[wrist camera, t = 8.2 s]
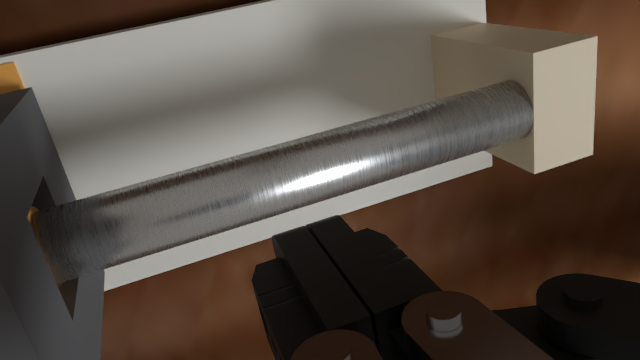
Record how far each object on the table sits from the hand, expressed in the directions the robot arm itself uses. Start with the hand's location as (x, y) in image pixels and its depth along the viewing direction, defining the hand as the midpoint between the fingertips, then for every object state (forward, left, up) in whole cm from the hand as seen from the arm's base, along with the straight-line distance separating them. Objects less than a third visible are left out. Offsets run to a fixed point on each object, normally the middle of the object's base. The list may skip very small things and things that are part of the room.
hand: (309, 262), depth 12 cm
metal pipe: (+1, +1, -6) cm, 6 cm away
